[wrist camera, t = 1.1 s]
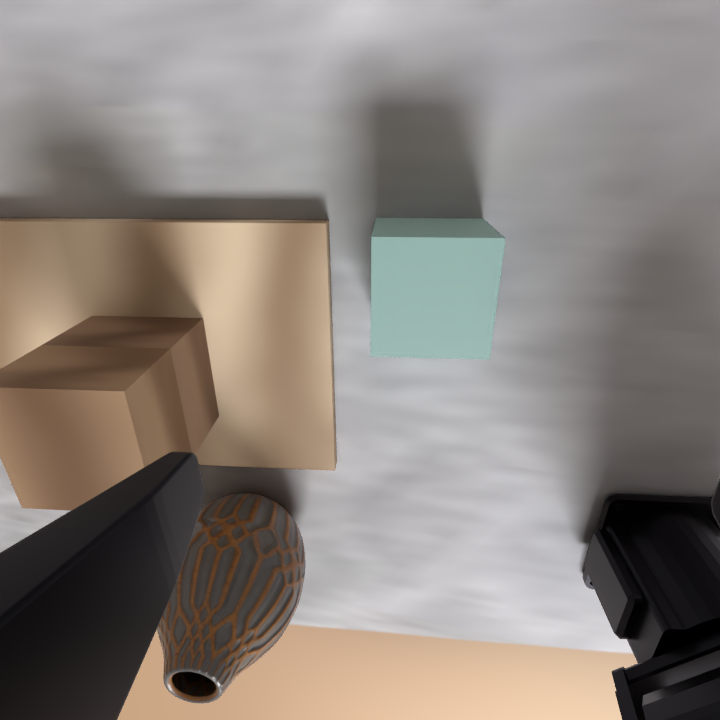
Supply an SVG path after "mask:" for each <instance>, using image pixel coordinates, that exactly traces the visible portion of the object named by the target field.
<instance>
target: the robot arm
mask: <svg viewBox="0 0 720 720" xmlns="http://www.w3.org/2000/svg"><path fill="white" fill-rule="evenodd" d="M203 499H204V485H203V480H202V476H201V471H200V467H199V463H198V459H197V456H196V455H195V454H194V453H193V452H184V451H173V452H170V453H168V454H166V455H164V456H163V457H161V458H159V459H158V460H156V461H154V462H152V463H151V464H149V465H147V466H146V467H144V468H142V469H141V470H139V471H137V472H136V473H134V474H132V475H131V476H129V477H127V478H126V479H124V480H122V481H120V482H119V483H117V484H115V485H114V486H112V487H110V488H109V489H107V490H105V491H104V492H102V493H100V494H99V495H97V496H95V497H93V498H92V499H90V500H88V501H87V502H85V503H83V504H82V505H80V506H78V507H77V508H75V509H73V510H72V511H70V512H68V513H67V514H65V515H63V516H61V517H60V518H58V519H56V520H55V521H53V522H51V523H50V524H48V525H46V526H45V527H43V528H41V529H40V530H38V531H36V532H35V533H33V534H31V535H29V536H28V537H26V538H24V539H23V540H21V541H19V542H18V543H16V544H14V545H13V546H11V547H9V548H8V549H6V550H4V551H3V552H1V553H0V720H117V719H118V716H119V714H120V712H121V709H122V707H123V705H124V703H125V700H126V698H127V696H128V693H129V691H130V689H131V686H132V684H133V682H134V680H135V677H136V675H137V673H138V671H139V668H140V666H141V664H142V661H143V659H144V657H145V655H146V652H147V650H148V648H149V645H150V643H151V641H152V638H153V636H154V634H155V632H156V629H157V627H158V625H159V623H160V620H161V618H162V616H163V614H164V611H165V609H166V607H167V604H168V602H169V600H170V598H171V595H172V593H173V590H174V588H175V585H176V583H177V581H178V578H179V575H180V572H181V569H182V566H183V563H184V560H185V557H186V554H187V550H188V547H189V544H190V541H191V538H192V535H193V531H194V528H195V525H196V522H197V519H198V516H199V513H200V509H201V506H202V503H203ZM616 504H618V505H616ZM584 566H585V570H584V574H583V580H584V582H585V585H586V586H587V587H588V588H591V589H595V591H596V593H597V596H598V598H599V600H600V602H601V605H602V607H603V609H604V611H605V614H606V616H607V618H608V620H609V623H610V625H611V627H612V629H613V632H614V633H615V634H616V635H617V636H618V637H619V638H620V639H627V641H628V643H629V645H630V647H631V649H632V651H633V654H634V656H635V658H636V660H637V662H638V664H636V665H633V666H631V667H628V668H624V667H622V668H619V669H616V670H614V671H612V675H613V679H614V683H615V687H616V690H617V691H616V692H615V693H616V697H617V701H618V705H619V708H620V712H621V715H622V720H720V479H719V482H718V484H717V487H716V489H715V492H714V494H713V497H712V498H699V497H675V496H652V495H629V494H613V495H611V496H609V497H608V498H607V499H606V501H605V504H604V507H603V510H602V514H601V517H600V520H599V524H598V527H597V529H596V531H595V532H594V533H593V536H592V540H591V543H590V546H589V550H588V553H587V556H586V560H585V563H584Z"/></svg>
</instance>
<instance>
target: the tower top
mask: <svg viewBox="0 0 720 720" xmlns="http://www.w3.org/2000/svg"><path fill="white" fill-rule="evenodd" d="M173 451H184V452H191V447H190V442H189V437H188V432H187V428H186V423H185V418H184V413H183V408H182V403H181V398H180V393H179V388H178V383H177V378H176V373H175V368H174V363H173V359H172V354H171V349H170V348H131V347H91V346H51V345H41V346H39V347H37V348H36V349H34V350H32V351H31V352H29V353H27V354H25V355H24V356H22V357H20V358H18V359H17V360H15V361H13V362H12V363H10V364H8V365H6V366H5V367H3V368H1V369H0V458H1V460H2V462H3V465H4V467H5V469H6V472H7V474H8V476H9V479H10V481H11V483H12V486H13V488H14V490H15V492H16V495H17V497H18V499H19V502H20V504H21V506H22V508H32V509H52V510H73V509H75V508H77V507H78V506H80V505H82V504H83V503H85V502H87V501H88V500H90V499H92V498H93V497H95V496H97V495H99V494H100V493H102V492H104V491H105V490H107V489H109V488H110V487H112V486H114V485H115V484H117V483H119V482H120V481H122V480H124V479H126V478H127V477H129V476H131V475H132V474H134V473H136V472H137V471H139V470H141V469H142V468H144V467H146V466H147V465H149V464H151V463H152V462H154V461H156V460H158V459H159V458H161V457H163V456H164V455H166V454H168V453H170V452H173Z"/></svg>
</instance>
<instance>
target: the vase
mask: <svg viewBox="0 0 720 720" xmlns="http://www.w3.org/2000/svg"><path fill="white" fill-rule="evenodd" d="M304 575H305V551H304V545H303V540H302V537H301V533H300V531H299V528H298V526H297V524H296V523H295V521H294V520H293V518H292V517H291V515H290V514H289V513H288V512H287V511H286V510H285V509H284V508H283V507H281V506H280V505H279V504H278V503H276V502H275V501H273V500H271V499H269V498H267V497H264V496H261V495H257V494H250V493H239V494H231V495H227V496H224V497H221V498H218V499H215V500H213V501H211V502H210V503H208V504H207V505H205V506H204V507H202V508H201V509H200V513H199V516H198V519H197V522H196V525H195V528H194V531H193V535H192V538H191V541H190V544H189V547H188V550H187V554H186V557H185V560H184V563H183V566H182V569H181V572H180V575H179V578H178V581H177V583H176V585H175V588H174V590H173V593H172V595H171V598H170V600H169V602H168V604H167V607H166V609H165V611H164V614H163V616H162V618H161V620H160V623H159V625H158V627H157V630H158V634H159V638H160V642H161V645H162V650H163V653H164V684H165V686H166V688H167V689H168V691H169V692H171V693H172V694H173V695H175V696H176V697H178V698H180V699H182V700H184V701H188V702H192V703H209V702H212V701H215V700H217V699H218V698H219V697H220V696H221V695H222V694H223V693H224V692H225V690H226V689H227V687H228V686H229V685H230V684H231V682H232V681H233V680H234V679H235V678H236V676H238V675H239V674H240V673H241V672H243V671H244V670H245V669H247V668H248V667H249V666H250V665H252V664H253V663H254V662H256V661H257V660H258V659H259V658H261V657H262V656H263V655H264V654H265V653H267V651H269V650H270V649H271V648H272V647H273V646H274V644H275V643H276V642H277V641H278V640H279V638H280V637H281V636H282V634H283V633H284V631H285V630H286V628H287V626H288V624H289V623H290V621H291V619H292V617H293V615H294V613H295V610H296V608H297V605H298V603H299V600H300V596H301V592H302V588H303V582H304Z"/></svg>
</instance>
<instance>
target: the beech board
mask: <svg viewBox="0 0 720 720" xmlns="http://www.w3.org/2000/svg"><path fill="white" fill-rule="evenodd" d="M91 316H128V317H177V318H203V320H204V326H205V332H206V339H207V345H208V351H209V357H210V363H211V369H212V375H213V381H214V387H215V394H216V400H217V406H218V412H219V417H218V419H217V420H216V422H215V423H214V425H213V427H212V428H211V430H210V431H209V433H208V434H207V436H206V438H205V439H204V441H203V442H202V444H201V446H200V447H199V449H198V450H197V452H196V453H195V455H196V456H197V459H198V463H199V465H213V466H237V467H262V468H286V469H310V470H335V467H336V462H337V453H336V423H335V392H334V362H333V331H332V301H331V270H330V240H329V220H219V219H62V218H0V369H1V368H3V367H5V366H6V365H8V364H10V363H12V362H13V361H15V360H17V359H18V358H20V357H22V356H24V355H25V354H27V353H29V352H31V351H32V350H34V349H36V348H37V347H39V346H41V345H43V344H44V343H46V342H48V341H49V340H51V339H53V338H55V337H56V336H58V335H60V334H61V333H63V332H65V331H67V330H68V329H70V328H72V327H74V326H75V325H77V324H79V323H80V322H82V321H84V320H86V319H87V318H89V317H91Z"/></svg>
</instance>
